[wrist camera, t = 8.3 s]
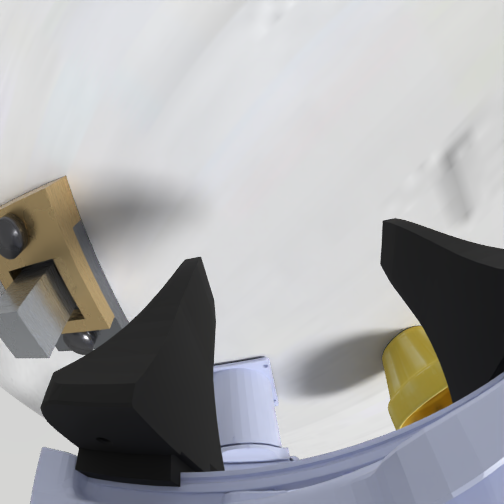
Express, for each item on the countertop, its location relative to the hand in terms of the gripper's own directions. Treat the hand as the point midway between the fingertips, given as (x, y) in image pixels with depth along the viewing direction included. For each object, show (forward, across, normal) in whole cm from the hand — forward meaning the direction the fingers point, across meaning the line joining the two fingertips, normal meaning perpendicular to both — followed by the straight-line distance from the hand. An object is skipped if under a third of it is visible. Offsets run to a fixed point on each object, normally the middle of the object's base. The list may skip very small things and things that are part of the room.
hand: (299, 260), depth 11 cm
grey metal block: (+9, +18, +3) cm, 21 cm away
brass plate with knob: (+9, +18, +3) cm, 21 cm away
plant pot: (+10, -14, +21) cm, 27 cm away
